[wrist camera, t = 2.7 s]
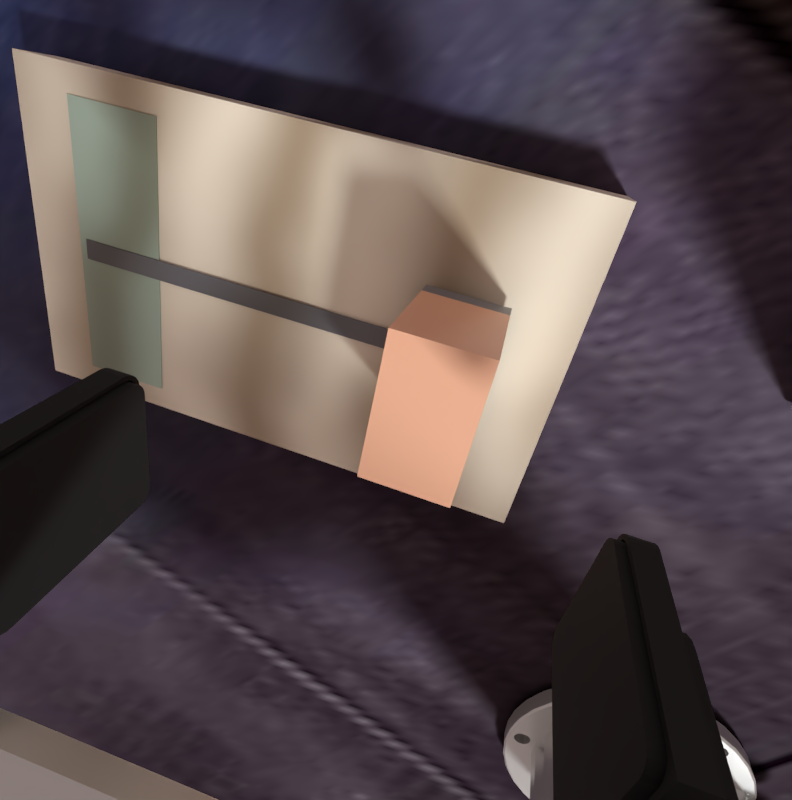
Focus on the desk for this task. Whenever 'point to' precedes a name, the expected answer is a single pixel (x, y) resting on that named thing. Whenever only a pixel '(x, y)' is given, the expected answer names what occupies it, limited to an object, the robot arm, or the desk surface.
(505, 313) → the fader tab
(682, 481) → the desk surface
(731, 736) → the robot arm
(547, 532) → the desk surface
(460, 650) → the desk surface
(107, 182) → the fader board
